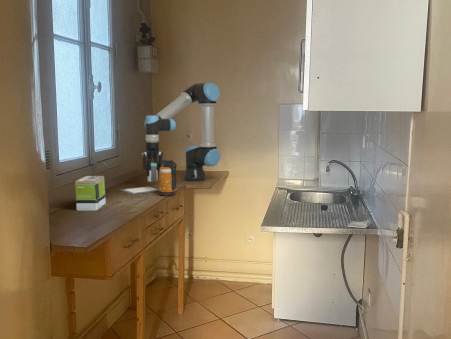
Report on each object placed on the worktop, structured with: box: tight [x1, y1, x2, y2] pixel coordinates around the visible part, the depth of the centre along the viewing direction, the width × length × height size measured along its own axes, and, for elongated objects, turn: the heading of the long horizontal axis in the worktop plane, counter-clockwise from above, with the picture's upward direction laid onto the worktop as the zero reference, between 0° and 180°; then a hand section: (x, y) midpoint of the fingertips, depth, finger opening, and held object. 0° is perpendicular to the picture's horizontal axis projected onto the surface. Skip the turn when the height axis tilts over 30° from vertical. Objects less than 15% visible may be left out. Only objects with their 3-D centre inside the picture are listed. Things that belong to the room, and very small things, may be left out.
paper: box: [119, 185, 159, 195], centre depth 261 cm, size 20×16×1 cm
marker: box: [150, 162, 158, 183], centre depth 260 cm, size 4×4×11 cm
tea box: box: [74, 175, 107, 212], centre depth 216 cm, size 15×10×15 cm, turn 178°
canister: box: [158, 159, 178, 197], centre depth 246 cm, size 9×11×20 cm
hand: (152, 181), depth 261 cm, fingers closed on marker, 4 cm apart
